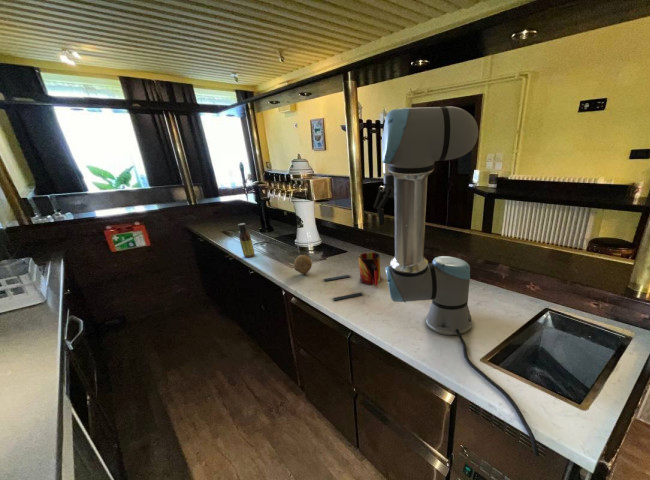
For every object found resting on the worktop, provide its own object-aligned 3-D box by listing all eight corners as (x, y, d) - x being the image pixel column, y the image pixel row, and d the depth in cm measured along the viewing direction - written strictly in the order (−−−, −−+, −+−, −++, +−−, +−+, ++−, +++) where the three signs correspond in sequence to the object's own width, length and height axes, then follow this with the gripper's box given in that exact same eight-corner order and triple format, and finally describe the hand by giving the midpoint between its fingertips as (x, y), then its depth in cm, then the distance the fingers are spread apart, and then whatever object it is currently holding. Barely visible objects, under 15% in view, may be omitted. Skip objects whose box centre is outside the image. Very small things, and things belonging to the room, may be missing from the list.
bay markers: (362, 295, 127) (362, 294, 127) (334, 301, 123) (334, 300, 123) (348, 275, 148) (348, 274, 148) (324, 279, 144) (324, 279, 144)
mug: (376, 288, 132) (375, 263, 127) (356, 280, 141) (354, 256, 136) (391, 281, 139) (390, 257, 134) (371, 274, 148) (369, 251, 143)
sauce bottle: (246, 255, 185) (238, 222, 177) (256, 254, 186) (248, 222, 177) (242, 258, 179) (234, 225, 171) (253, 257, 180) (245, 224, 172)
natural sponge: (314, 275, 150) (311, 256, 145) (296, 278, 147) (292, 259, 143) (312, 269, 157) (309, 251, 153) (294, 272, 155) (291, 254, 150)
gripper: (424, 173, 118) (423, 227, 126) (374, 173, 132) (377, 221, 141) (413, 175, 112) (413, 231, 121) (363, 174, 126) (366, 224, 135)
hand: (394, 226), depth 131 cm, fingers open, 13 cm apart
